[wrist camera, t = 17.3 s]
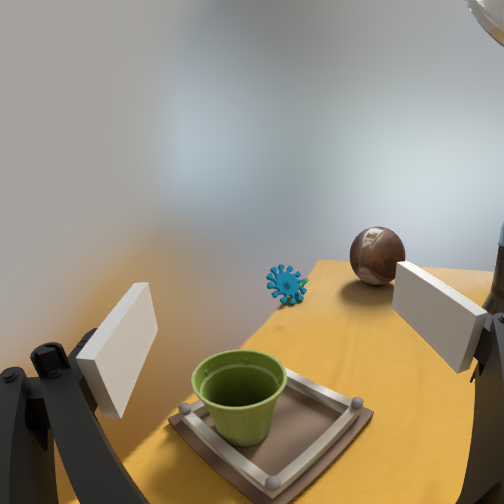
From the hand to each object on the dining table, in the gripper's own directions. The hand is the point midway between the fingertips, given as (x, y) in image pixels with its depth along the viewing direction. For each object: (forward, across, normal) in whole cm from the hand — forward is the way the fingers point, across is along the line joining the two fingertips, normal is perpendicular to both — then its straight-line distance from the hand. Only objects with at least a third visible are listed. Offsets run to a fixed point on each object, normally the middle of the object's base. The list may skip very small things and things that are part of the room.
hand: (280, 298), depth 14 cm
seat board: (+10, 0, -22) cm, 24 cm away
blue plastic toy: (+48, +8, -23) cm, 53 cm away
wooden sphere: (+52, +33, -23) cm, 66 cm away
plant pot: (+9, -3, -21) cm, 23 cm away
